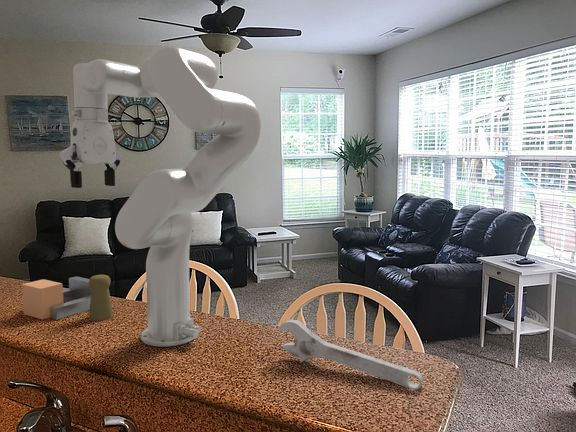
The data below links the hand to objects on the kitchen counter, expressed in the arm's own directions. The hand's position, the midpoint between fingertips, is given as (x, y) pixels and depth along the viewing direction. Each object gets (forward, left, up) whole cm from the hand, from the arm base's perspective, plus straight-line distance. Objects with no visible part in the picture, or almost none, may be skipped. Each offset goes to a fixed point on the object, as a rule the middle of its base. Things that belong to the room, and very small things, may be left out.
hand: (93, 186), depth 118 cm
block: (+15, +6, -34) cm, 37 cm away
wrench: (-67, -5, -34) cm, 75 cm away
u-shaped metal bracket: (+15, -1, -34) cm, 37 cm away
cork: (0, -1, -34) cm, 34 cm away
